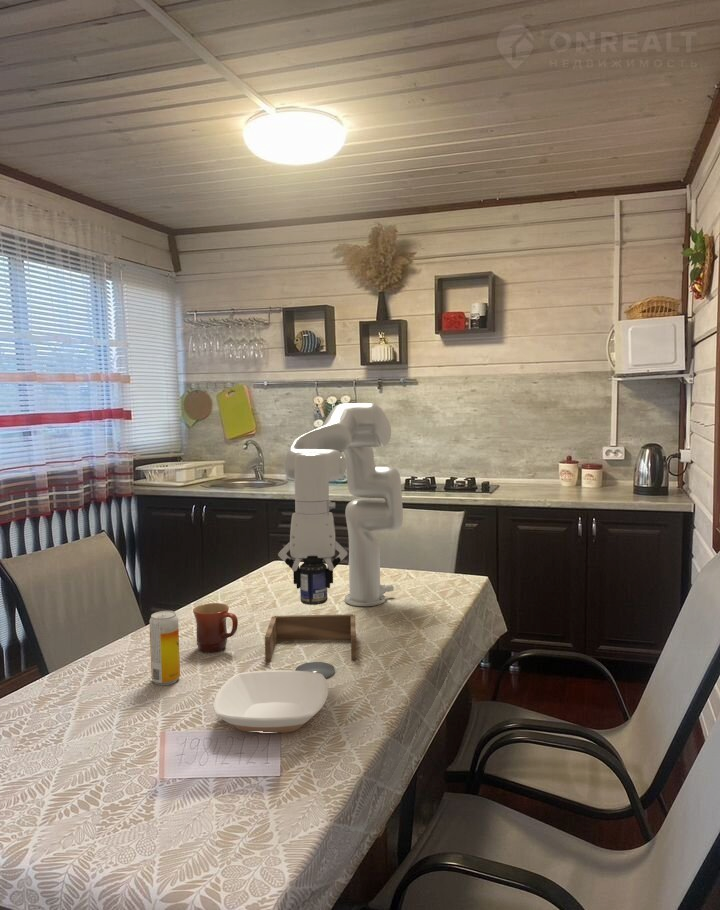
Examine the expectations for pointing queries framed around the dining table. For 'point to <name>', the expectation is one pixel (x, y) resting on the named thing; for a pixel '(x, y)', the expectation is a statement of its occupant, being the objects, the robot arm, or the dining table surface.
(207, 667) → the dining table surface
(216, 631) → the mug
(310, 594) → the pill bottle
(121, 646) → the dining table surface
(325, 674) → the slate coaster
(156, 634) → the beer can
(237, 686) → the bowl
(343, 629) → the u-shaped wooden arch
